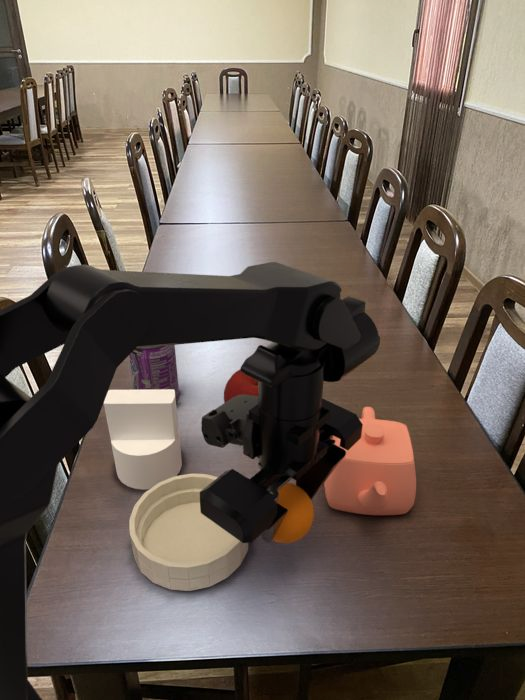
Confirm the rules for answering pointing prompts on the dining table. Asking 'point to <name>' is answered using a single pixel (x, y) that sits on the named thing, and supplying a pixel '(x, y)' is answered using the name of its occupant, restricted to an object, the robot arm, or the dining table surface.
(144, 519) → the bowl
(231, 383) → the apple
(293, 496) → the orange
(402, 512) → the teapot
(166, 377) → the beverage can
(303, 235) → the dining table surface
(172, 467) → the cylinder with rectangular tab
